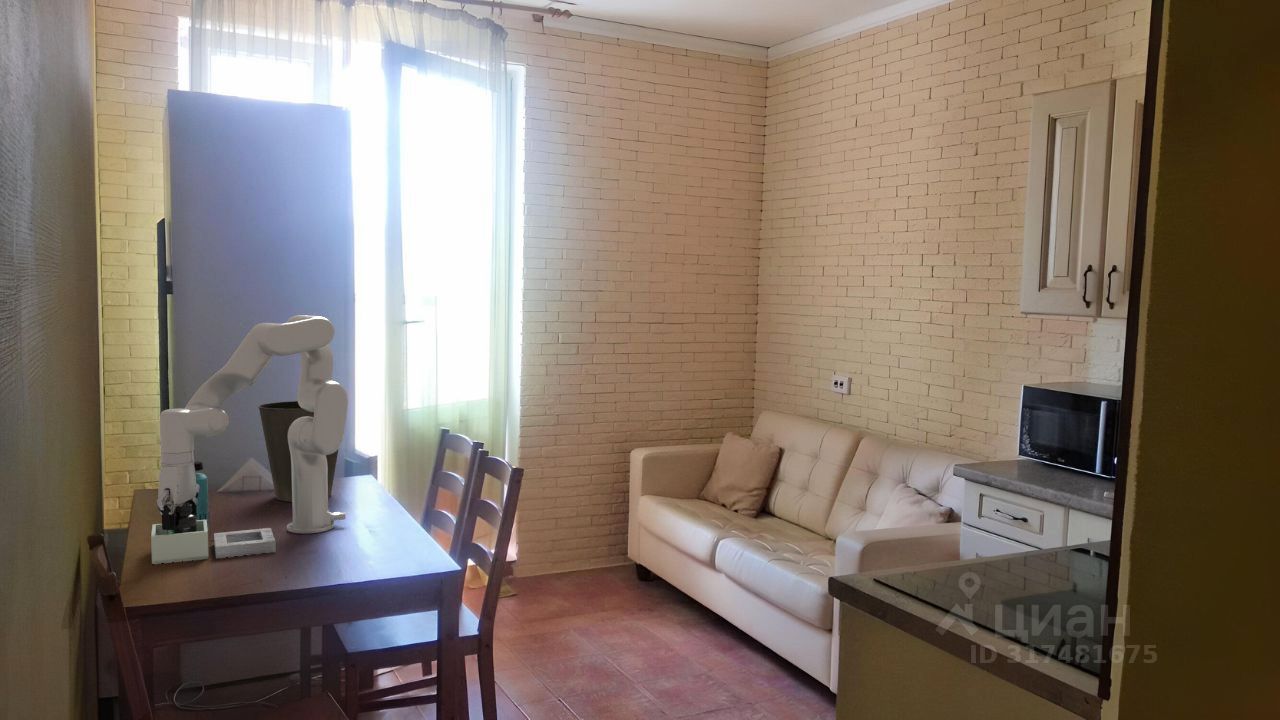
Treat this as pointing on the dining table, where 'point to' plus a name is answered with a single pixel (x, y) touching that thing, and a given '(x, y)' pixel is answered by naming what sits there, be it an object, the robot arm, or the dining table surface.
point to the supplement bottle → (184, 519)
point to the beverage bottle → (202, 494)
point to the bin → (179, 544)
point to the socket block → (244, 542)
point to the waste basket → (285, 445)
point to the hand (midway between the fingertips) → (179, 524)
